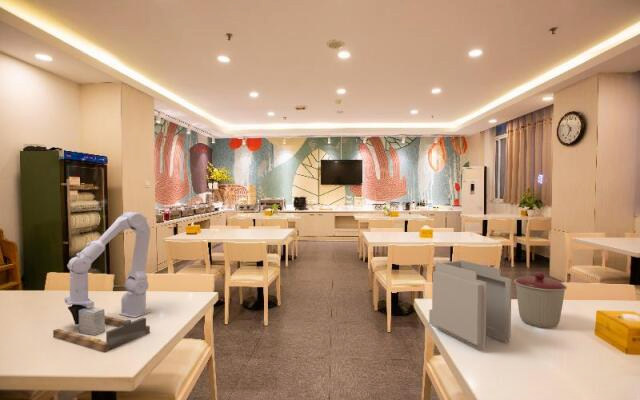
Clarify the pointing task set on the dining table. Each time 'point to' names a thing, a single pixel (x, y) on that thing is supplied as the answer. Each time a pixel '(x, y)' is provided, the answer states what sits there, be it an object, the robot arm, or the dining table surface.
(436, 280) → the grey napkin holder
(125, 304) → the robot arm
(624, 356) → the dining table surface
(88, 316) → the medicine box
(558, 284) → the canister
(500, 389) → the dining table surface
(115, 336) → the brown piece
